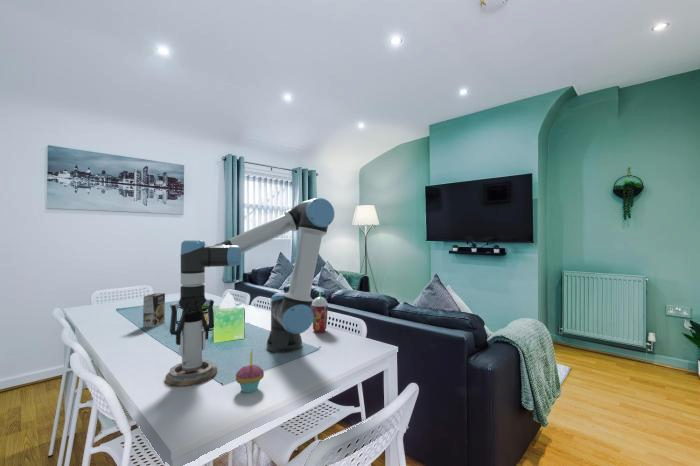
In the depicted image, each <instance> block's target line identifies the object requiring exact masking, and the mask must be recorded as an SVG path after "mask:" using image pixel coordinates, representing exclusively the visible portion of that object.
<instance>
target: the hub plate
mask: <svg viewBox="0 0 700 466" xmlns="http://www.w3.org/2000/svg"><path fill="white" fill-rule="evenodd" d="M217 373H218V367H217V366H216V365H215V364H214V362H213V361H211V360H209V359H202V367H201V368H200V369H198V370H196V371H192V372H185V371H183V370H182V362H180V363H177V364H175V365H174V366H171V368H170V369H169V372H167V374H166V375H165V376H164V377H165V378H164V379H165V380H164V381H165V384H167V385H169V386H170V387H171V386H172V387H191V386H196V385H199V384H203V383H205V382H208V381H209V380H212V379H213V378H214V377H216V376H217Z"/></svg>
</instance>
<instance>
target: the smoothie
mask: <svg viewBox="0 0 700 466" xmlns="http://www.w3.org/2000/svg"><path fill="white" fill-rule="evenodd" d="M321 292H322V291H319V292H318V293H319V294H318V296H317V297H315V298H314V299H313V302H312V307H311V310H312V312H313V322H312V329H313V331H314V333H319V334H320V333H325V332H326V329H327V323H328V311H329V309H328V307H329V303H328V301H327V300H326V298H325V297H323V296H322V295H321Z"/></svg>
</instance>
